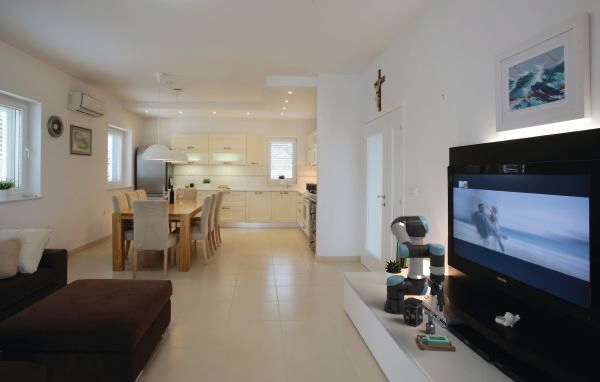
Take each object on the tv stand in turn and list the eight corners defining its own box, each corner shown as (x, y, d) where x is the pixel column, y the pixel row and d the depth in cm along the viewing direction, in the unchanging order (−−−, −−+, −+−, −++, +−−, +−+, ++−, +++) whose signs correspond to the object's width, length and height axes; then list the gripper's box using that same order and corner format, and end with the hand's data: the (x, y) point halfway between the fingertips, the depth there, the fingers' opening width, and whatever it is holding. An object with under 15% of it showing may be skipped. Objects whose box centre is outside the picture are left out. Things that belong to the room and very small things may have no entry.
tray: (416, 338, 199) (416, 334, 199) (448, 339, 197) (448, 336, 197) (421, 349, 186) (421, 345, 186) (455, 351, 184) (455, 347, 184)
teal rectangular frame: (445, 341, 194) (445, 335, 194) (449, 347, 187) (449, 341, 187) (421, 340, 196) (421, 334, 196) (424, 346, 189) (424, 340, 189)
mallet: (424, 330, 209) (424, 310, 209) (434, 331, 208) (434, 310, 208) (426, 334, 204) (426, 313, 204) (436, 334, 203) (436, 314, 203)
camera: (408, 318, 227) (408, 295, 227) (423, 323, 220) (423, 299, 219) (400, 323, 220) (399, 299, 220) (415, 328, 213) (415, 303, 212)
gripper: (424, 267, 203) (424, 303, 204) (436, 280, 178) (435, 321, 179) (438, 267, 202) (438, 303, 203) (451, 280, 177) (451, 321, 178)
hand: (437, 312), depth 191 cm, fingers open, 13 cm apart
